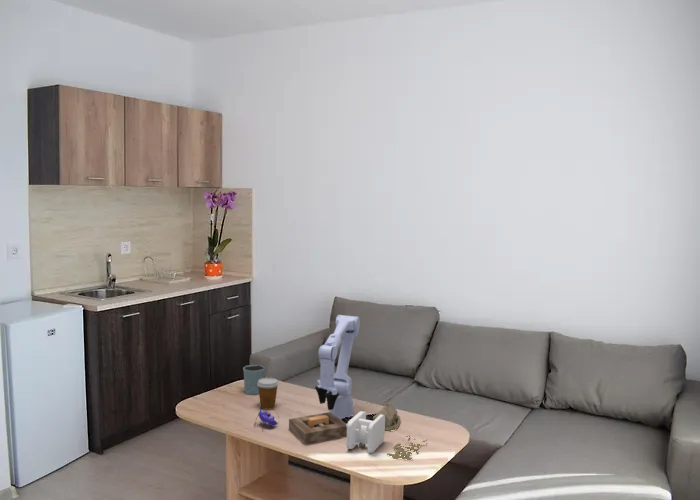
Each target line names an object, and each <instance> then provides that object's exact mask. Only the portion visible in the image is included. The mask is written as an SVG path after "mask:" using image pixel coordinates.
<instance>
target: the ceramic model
mask: <svg viewBox="0 0 700 500" xmlns="http://www.w3.org/2000/svg"><path fill="white" fill-rule="evenodd" d="M380 414H382V415H385V432H386V431H390V432H392V431H391V430H395V429H397V430H398V429H399V427H400V424H401V416H400V415H398V410H397V409H396V407H395V405H393V404H392V402H385V403H384V407H383V408H381V410H379V412H377V413H376V414H375V415H374V416H373V417H372V421H374V420H375V419H376V418H377V417H378V416H379V415H380ZM398 426H399V427H398ZM395 431H396V430H395Z"/></svg>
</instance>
